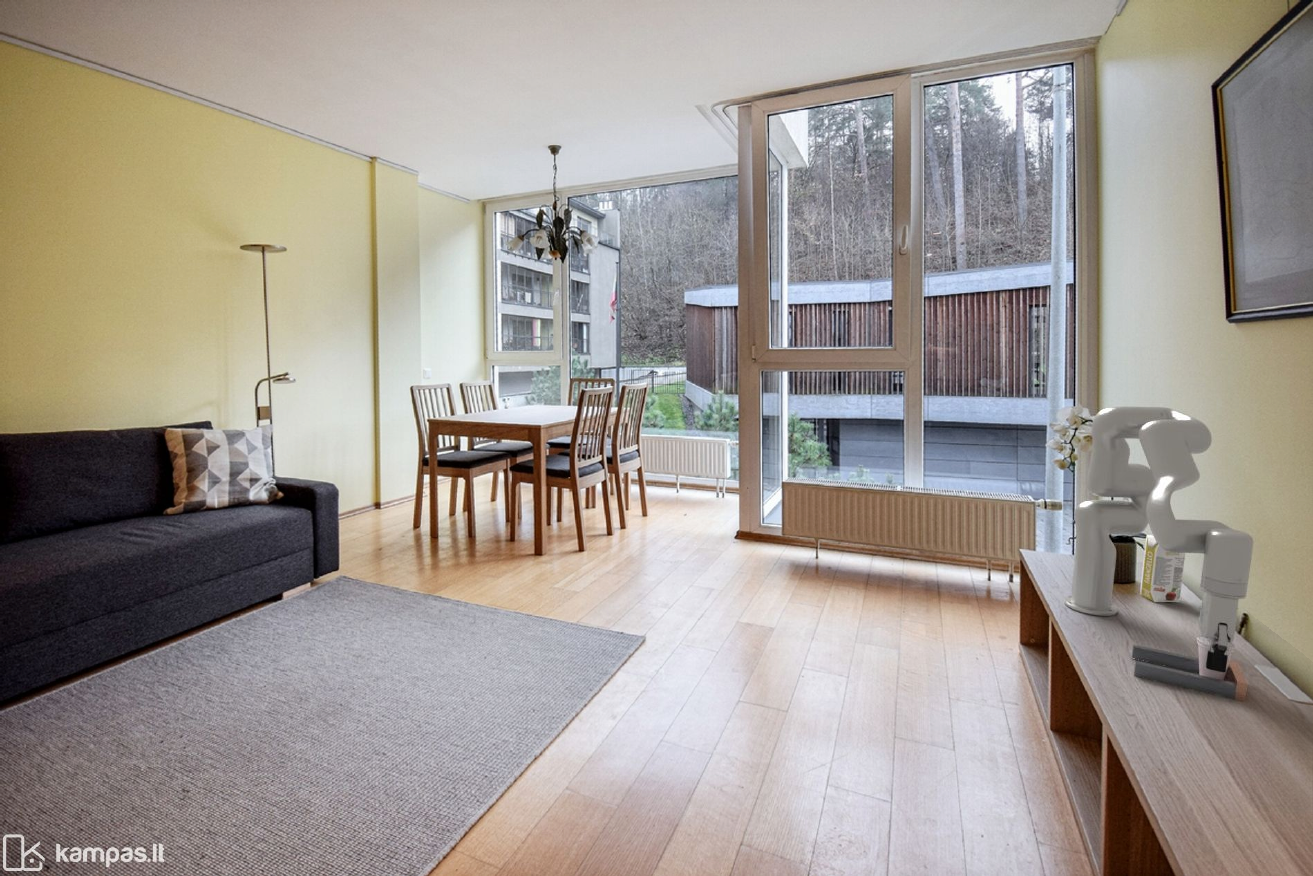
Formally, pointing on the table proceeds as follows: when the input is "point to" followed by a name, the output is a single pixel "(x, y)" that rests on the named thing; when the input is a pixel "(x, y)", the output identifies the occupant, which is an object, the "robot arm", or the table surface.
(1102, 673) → the table surface
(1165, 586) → the juice carton
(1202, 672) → the smoothie
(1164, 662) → the grey frame
